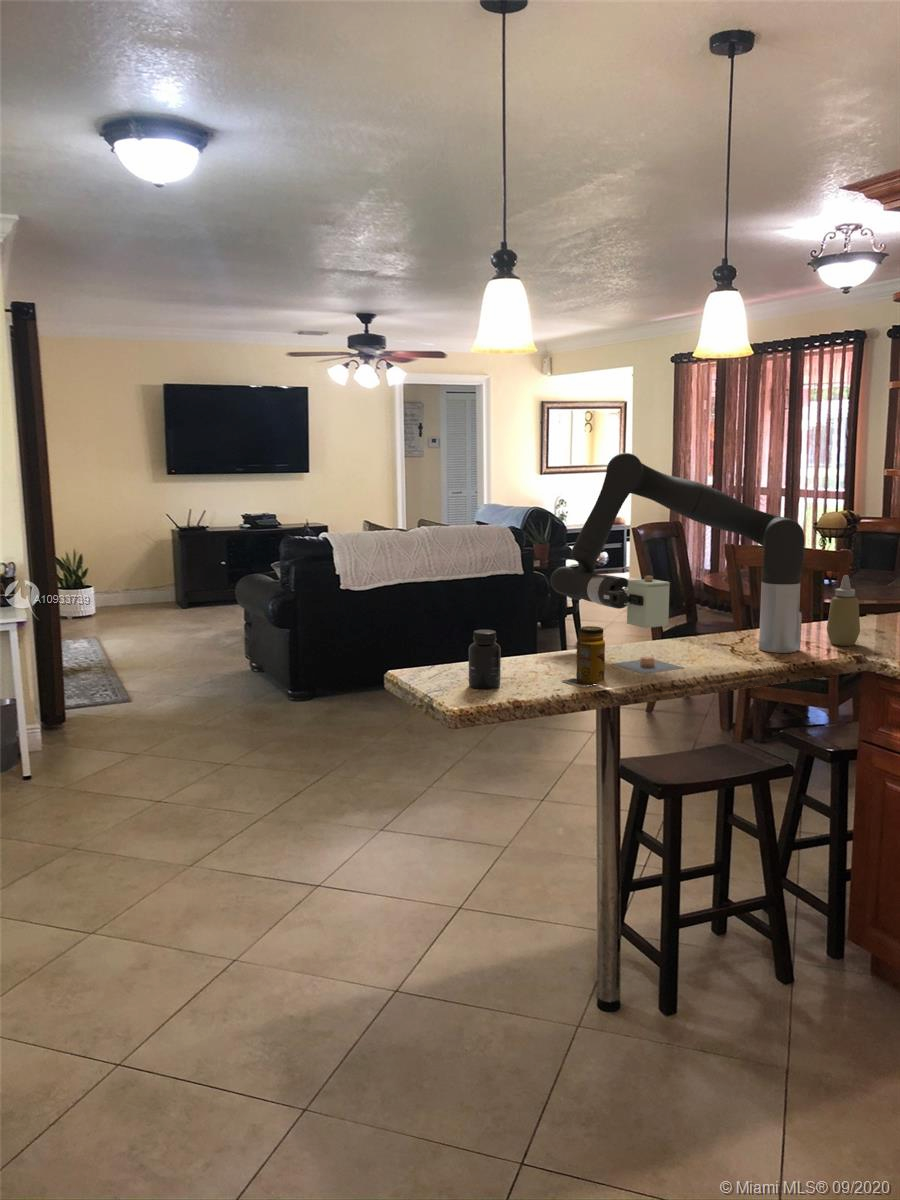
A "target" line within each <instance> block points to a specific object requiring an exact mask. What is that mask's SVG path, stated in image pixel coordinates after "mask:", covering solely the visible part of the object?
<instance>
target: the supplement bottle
mask: <svg viewBox="0 0 900 1200" xmlns="http://www.w3.org/2000/svg"><path fill="white" fill-rule="evenodd" d="M472 638H473V641H474V642H473V643H471V644H470V645H469V648H468V685H469V687H470V688H472V689H474V690H487V691H488V690H494V689H498V688H499V687H501V686H500V685H501V661H502V660H501V657H502V656H501V649H502V648H501V646H500V645H499V644H498V643H497V642H496V641H497V632H496V631H495V630H492V629H477V630H474V631H473V637H472Z"/></svg>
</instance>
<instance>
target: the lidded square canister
mask: <svg viewBox="0 0 900 1200" xmlns="http://www.w3.org/2000/svg"><path fill="white" fill-rule="evenodd" d="M670 585H671V582H669V581H665V580H661V579H654V576H653V575H645V576H644V578H643V579H633V580H629V581H628V593H631V594H635V595H640V596H643V605H642V606H638V605H634V604H629V605H627V606H626V609H627V611H626V624H628V625H631V626H637V627H639V628H644V629H648V628H659V627H667V626H669V618H670V616H669V613H670V612H669V611H670Z"/></svg>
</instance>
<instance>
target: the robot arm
mask: <svg viewBox="0 0 900 1200" xmlns="http://www.w3.org/2000/svg"><path fill="white" fill-rule="evenodd" d="M630 494H632V495H636V496H639V497H642V498H645V499H648V500H651V501H653V502H655V503H657V504H659V505H661V506H663V507H665V508H667V509H668V510H670V511H672V512H675V513H676V514H678V515H681V516H683V517H685V518H687V519H689V520H692V521H695V522H697V523H700V524H701V525H705V526H706V527H711V528H714V529H717V530H721V531H725V532H730V533H735V534H737V535H739V536H742V537H744V538H747V539H749V540H751V541H753V542H754V543H756V544H758V545H760V546H762V547H763V565H762V571H761V580H760V582H761V583H760V588H761V589H760V606H759V607H760V610H759V613H760V614H759V632H758V633H759V634H758V635H759V636H758V650H761V651H763V652H770V653H775V654H777V653H779V654H787V653H789V654H790V653H796V652H798V651H799V650H801V643H802V642H801V641H802V623H803V622H802V621H803V620H802V619H803V617H802V616H803V613H802V612H801V611H800V602H801V582H802V581H801V580H802V574H803V569H804V557H805V532H804V528H803V527H802V526H801V525H800V524H799V522H797V521H795V520H793V519H791V518H788V517H785V516H784V517H783V516H778V515H775V514H771V513H768V512H764V511H762V510H759V509H756V508H753V507H750V506H749V505H746V504H745V503H743V502H741V501H740V500H738V499H736V498H735V497H732V496H731V495H729V494H727V493H724V492H722V491H721V490H718V489H717V488H713V487H711V486H708V485H706V484H703V483H701V482H698V481H695V480H691V479H688V478H687V479H686V478H683V477H679V476H678V477H677V476H673V475H668V474H666V473H663V472H660V471H658V470H656V469H654V468H652V467H650V466H648V465H646V464H644V463H642V462H641V460H640V458H639V457H638V456H637V455H635V454H633V453H630V452H623V453H619V454H616V455H615V456H614V457H612V458H611V459H610V460H609V462H608V463H607V466H606V470H605V477H604V480H603V483H602V487H601V490H600V492H599V494H598V497H597V500H596V501H595V504H594V506H593V508H592V510H591V512H590V514H589V515H588V517H587V519H586V521H585V523H584V525H583V526H582V528H581V531H580V532H579V534H578V536H577V538H576V540H575V543H574V545H573V547H572V548H571V551H570V556H571V558H572V559H573V560H575V561H576V562H577V564H578V567H577V569H576V568H573V567H569V566H560V567H558V568H557V569H555V570H554V571H553V572H552V574H551V575H550V580H549V581H550V586H551V588H552V589H553V591H555V592H556V593H558V594H560V595H563V596H564V597H567V598H569V599H572V600H574V601H581V600H584V601H587V602H590V603H591V602H592V603H595V604H598V605H600V606H604V607H610V608H614V609H616V610H617V609H624V608H627V605H629V604H634V605H638V606H642V605H643V596H640V595H635V594H631V593H628V581H630V580H629V579H627V578H625V577H622V576H615V575H610V574H598V573H595V570H596V565H597V561H598V559H599V557H600V555H601V553H602V551H603V549H604V547H605V545H606V543H607V541H608V539H609V536H610V533H611V531H612V528H613V526H614V523H615V521H616V519H617V517H618V514H619V512H620V510H621V508H622V506H623V505H624V502H625V501H626V499H627V498H628V497H629V496H630Z"/></svg>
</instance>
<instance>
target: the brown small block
mask: <svg viewBox="0 0 900 1200" xmlns="http://www.w3.org/2000/svg"><path fill="white" fill-rule="evenodd" d="M639 660H640V666H641V667H654V660H656V659H655V658H654V657H653V656H641V657H640V659H639Z"/></svg>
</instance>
